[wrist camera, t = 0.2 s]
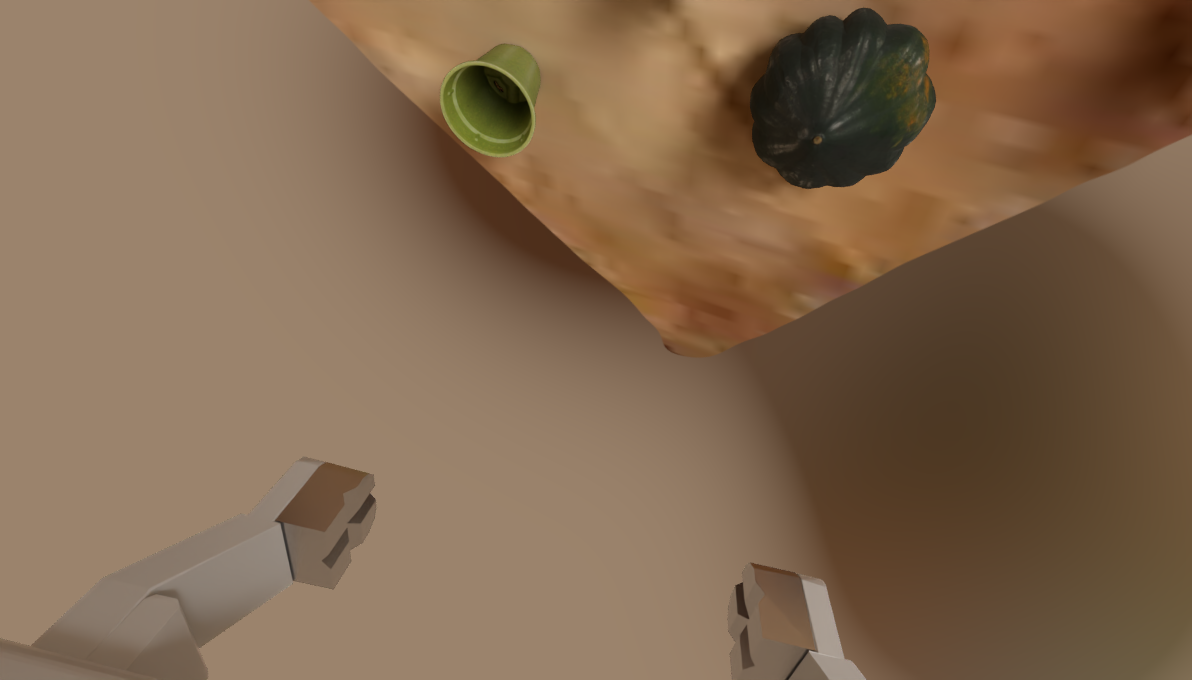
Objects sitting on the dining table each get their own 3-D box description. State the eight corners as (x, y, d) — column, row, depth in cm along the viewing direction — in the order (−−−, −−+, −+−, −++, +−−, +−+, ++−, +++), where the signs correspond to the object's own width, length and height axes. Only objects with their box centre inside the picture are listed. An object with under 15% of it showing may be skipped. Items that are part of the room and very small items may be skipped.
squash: (945, 165, 50) (958, 136, 37) (783, 213, 58) (747, 204, 45) (913, 14, 50) (914, -66, 37) (754, 84, 58) (709, 37, 45)
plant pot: (516, 132, 62) (493, 173, 56) (452, 65, 57) (420, 102, 52) (574, 82, 56) (554, 123, 51) (508, 3, 52) (479, 39, 46)
